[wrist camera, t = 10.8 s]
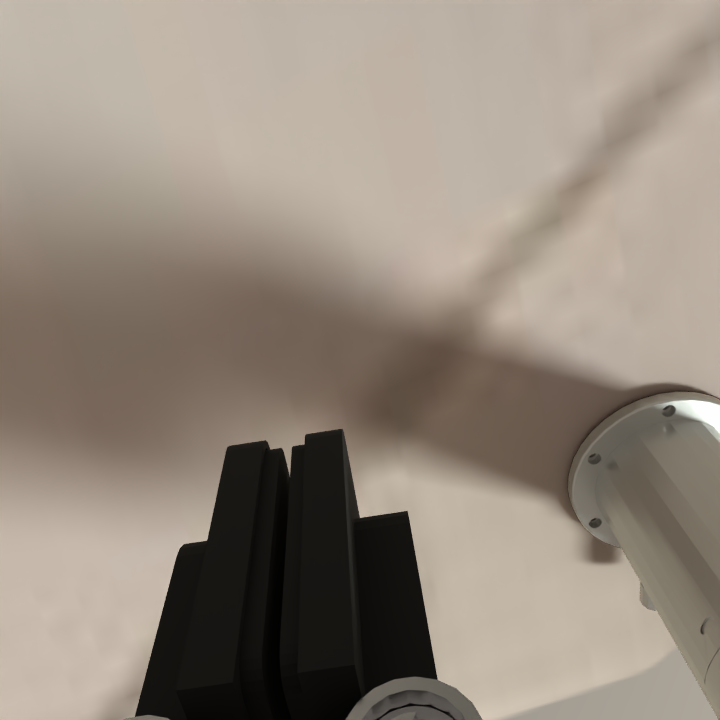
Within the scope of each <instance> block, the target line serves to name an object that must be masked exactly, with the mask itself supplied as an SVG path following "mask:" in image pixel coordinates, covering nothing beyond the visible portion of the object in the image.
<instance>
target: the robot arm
mask: <svg viewBox="0 0 720 720" xmlns="http://www.w3.org/2000/svg"><path fill="white" fill-rule="evenodd" d="M568 492H569V498H570V502H571V504H572V507H573V509H574V511H575V513H576V515H577V517H578V518H579V520H580V522H581V523H582V525H583V526H584V527H585V528H586V529H587V530H588V531H589V532H590V533H591V534H592V535H593V536H595V537H596V538H598V539H600V540H601V541H603V542H605V543H607V544H610V545H613V546H616V547H619V548H622V550H623V552H624V553H625V555H626V557H627V559H628V561H629V562H630V564H631V566H632V568H633V569H634V571H635V573H636V575H637V576H638V578H639V580H640V601H641V603H642V605H643V606H645V607H646V608H647V609H650V610H654V611H657V612H658V614H659V615H660V617H661V619H662V621H663V622H664V624H665V626H666V628H667V629H668V631H669V633H670V635H671V637H672V638H673V640H674V642H675V644H676V645H677V647H678V649H679V651H680V652H681V654H682V656H683V658H684V659H685V661H686V663H687V665H688V667H689V668H690V670H691V672H692V674H693V675H694V677H695V679H696V681H697V682H698V684H699V686H700V687H701V690H702V691H703V693H704V695H705V696H706V698H707V700H708V702H709V704H710V705H711V707H712V709H713V711H714V712H715V714H716V716H717V718H718V719H719V720H720V399H717V398H715V397H713V396H710V395H706V394H701V393H696V392H670V393H663V394H657V395H654V396H650V397H647V398H644V399H640V400H638V401H636V402H634V403H631V404H629V405H627V406H625V407H623V408H621V409H620V410H618V411H617V412H615V413H614V414H612V415H610V416H609V417H607V418H606V419H605V420H604V421H603V422H602V423H600V424H599V425H598V426H597V427H596V428H595V429H594V430H593V431H592V432H591V433H590V434H589V436H588V437H587V438H586V439H585V441H584V442H583V443H582V444H581V446H580V448H579V450H578V452H577V453H576V455H575V457H574V459H573V462H572V465H571V469H570V472H569V480H568ZM124 720H482V718H481V716H480V715H479V713H478V711H477V710H476V708H475V706H474V705H473V703H472V702H471V701H470V700H469V699H467V698H466V697H465V696H464V695H463V694H462V693H461V692H459V691H458V690H457V689H456V688H454V687H452V686H450V685H447V684H445V683H443V682H441V681H439V680H437V674H436V668H435V663H434V657H433V651H432V646H431V640H430V635H429V629H428V623H427V618H426V612H425V606H424V601H423V595H422V589H421V584H420V578H419V572H418V567H417V561H416V555H415V550H414V544H413V539H412V533H411V527H410V522H409V516H408V512H407V511H404V512H398V513H391V514H384V515H378V516H371V517H364V518H360V517H359V511H358V506H357V500H356V495H355V490H354V484H353V479H352V473H351V468H350V463H349V457H348V452H347V446H346V441H345V436H344V432H343V429H338V430H331V431H325V432H318V433H312V434H306V435H305V445H298V446H293V447H292V456H291V472H290V476H289V472H288V467H287V463H286V459H285V455H284V452H283V450H282V448H279V449H272V450H270V447H269V445H268V442H267V441H266V440H265V441H259V442H252V443H245V444H239V445H232V446H229V447H228V448H227V450H226V455H225V459H224V464H223V469H222V474H221V478H220V483H219V488H218V493H217V497H216V502H215V507H214V512H213V516H212V521H211V526H210V530H209V535H208V540H207V541H203V542H196V543H189V544H184V545H183V546H182V547H181V548H180V550H179V552H178V555H177V558H176V561H175V565H174V569H173V573H172V577H171V580H170V584H169V588H168V592H167V596H166V600H165V603H164V607H163V611H162V615H161V619H160V623H159V626H158V630H157V634H156V638H155V642H154V646H153V649H152V653H151V657H150V661H149V665H148V669H147V672H146V676H145V680H144V684H143V688H142V692H141V695H140V699H139V703H138V707H137V711H136V714H135V717H131V718H126V719H124Z"/></svg>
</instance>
